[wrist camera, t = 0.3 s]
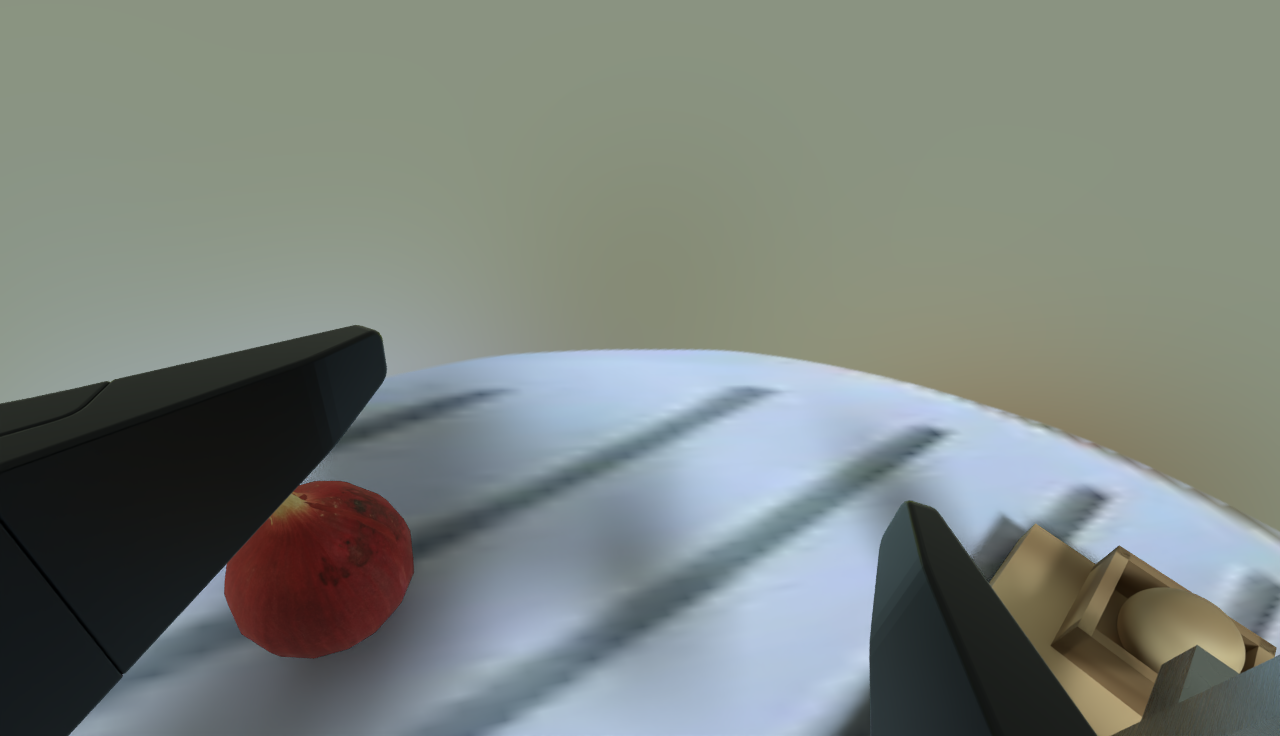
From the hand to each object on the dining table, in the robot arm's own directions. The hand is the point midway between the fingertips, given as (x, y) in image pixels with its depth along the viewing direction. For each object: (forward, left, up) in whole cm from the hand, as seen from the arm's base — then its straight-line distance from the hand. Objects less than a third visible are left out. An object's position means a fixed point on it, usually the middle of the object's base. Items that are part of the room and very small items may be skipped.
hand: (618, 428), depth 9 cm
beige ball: (+8, -21, -15) cm, 27 cm away
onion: (+2, +10, -17) cm, 20 cm away
